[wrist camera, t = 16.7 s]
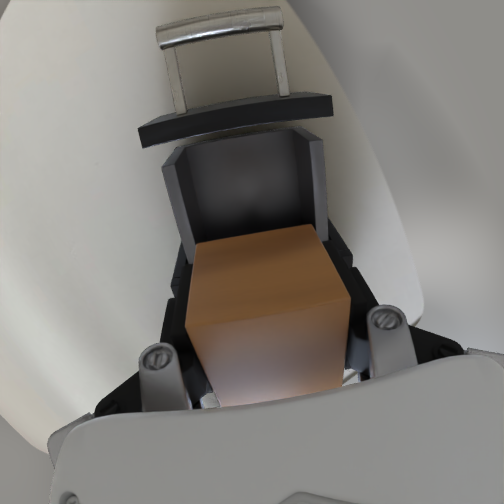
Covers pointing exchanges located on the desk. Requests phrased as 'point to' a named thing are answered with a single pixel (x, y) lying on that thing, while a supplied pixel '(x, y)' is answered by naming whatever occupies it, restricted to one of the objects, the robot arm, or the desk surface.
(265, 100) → the drawer with bar handle
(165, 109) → the desk surface
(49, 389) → the desk surface
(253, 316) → the tan wooden cube
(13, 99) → the desk surface
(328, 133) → the desk surface
